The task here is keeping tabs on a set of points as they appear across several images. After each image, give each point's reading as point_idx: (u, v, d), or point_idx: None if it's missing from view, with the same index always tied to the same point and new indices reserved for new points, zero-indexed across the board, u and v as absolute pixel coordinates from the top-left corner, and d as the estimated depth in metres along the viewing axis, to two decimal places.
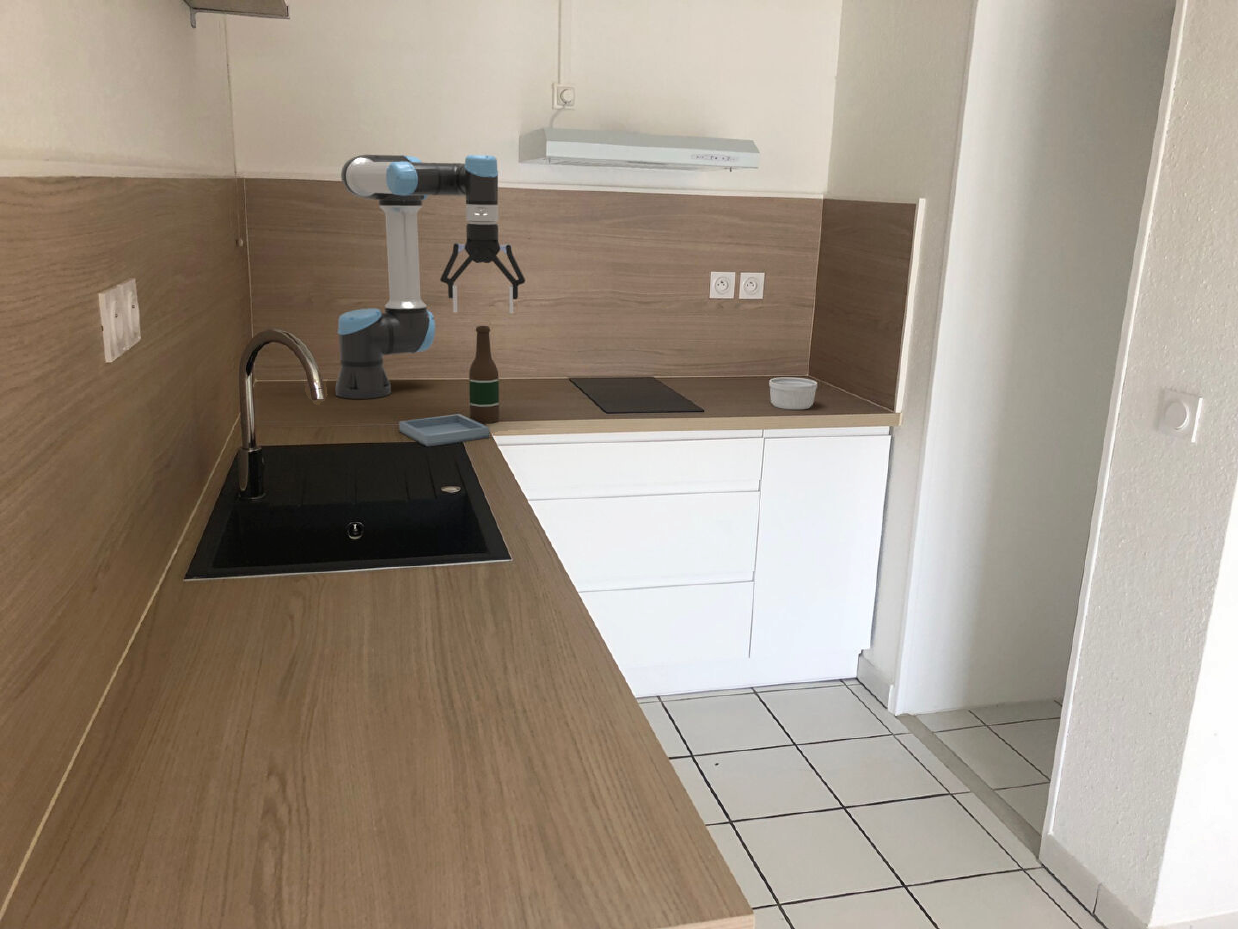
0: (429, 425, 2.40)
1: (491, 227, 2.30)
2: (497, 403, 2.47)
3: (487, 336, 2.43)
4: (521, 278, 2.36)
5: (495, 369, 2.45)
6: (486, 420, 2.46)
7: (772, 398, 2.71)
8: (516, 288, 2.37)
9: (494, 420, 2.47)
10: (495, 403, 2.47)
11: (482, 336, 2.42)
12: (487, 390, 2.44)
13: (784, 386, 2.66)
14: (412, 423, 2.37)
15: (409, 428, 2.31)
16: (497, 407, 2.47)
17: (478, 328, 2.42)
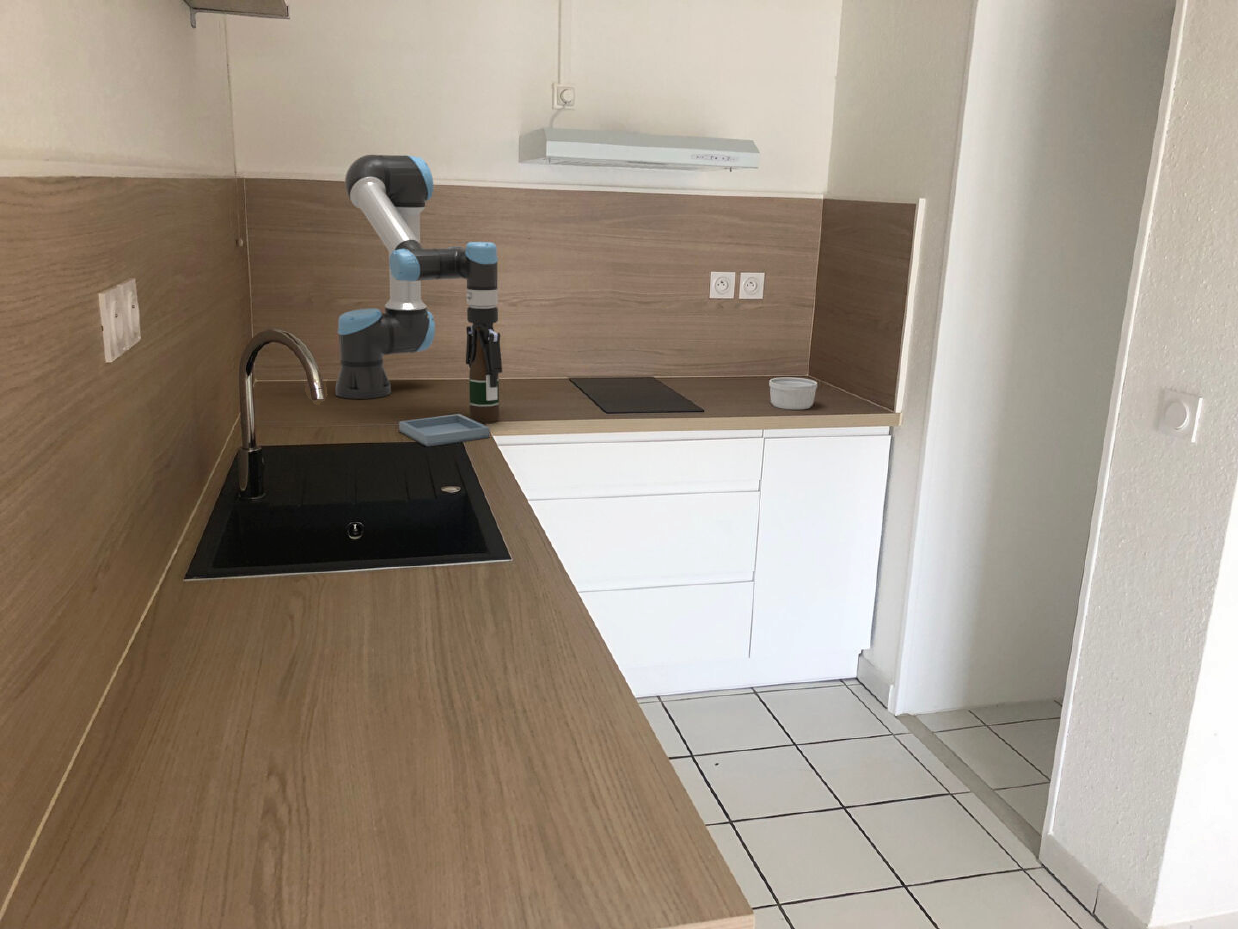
0: (429, 425, 2.40)
1: (476, 311, 2.38)
2: (497, 403, 2.47)
3: None
4: (492, 368, 2.39)
5: None
6: (486, 420, 2.46)
7: (772, 398, 2.71)
8: (491, 377, 2.41)
9: (494, 420, 2.47)
10: (496, 403, 2.47)
11: None
12: None
13: (784, 386, 2.66)
14: (412, 423, 2.37)
15: (409, 428, 2.31)
16: (497, 407, 2.47)
17: (478, 328, 2.42)
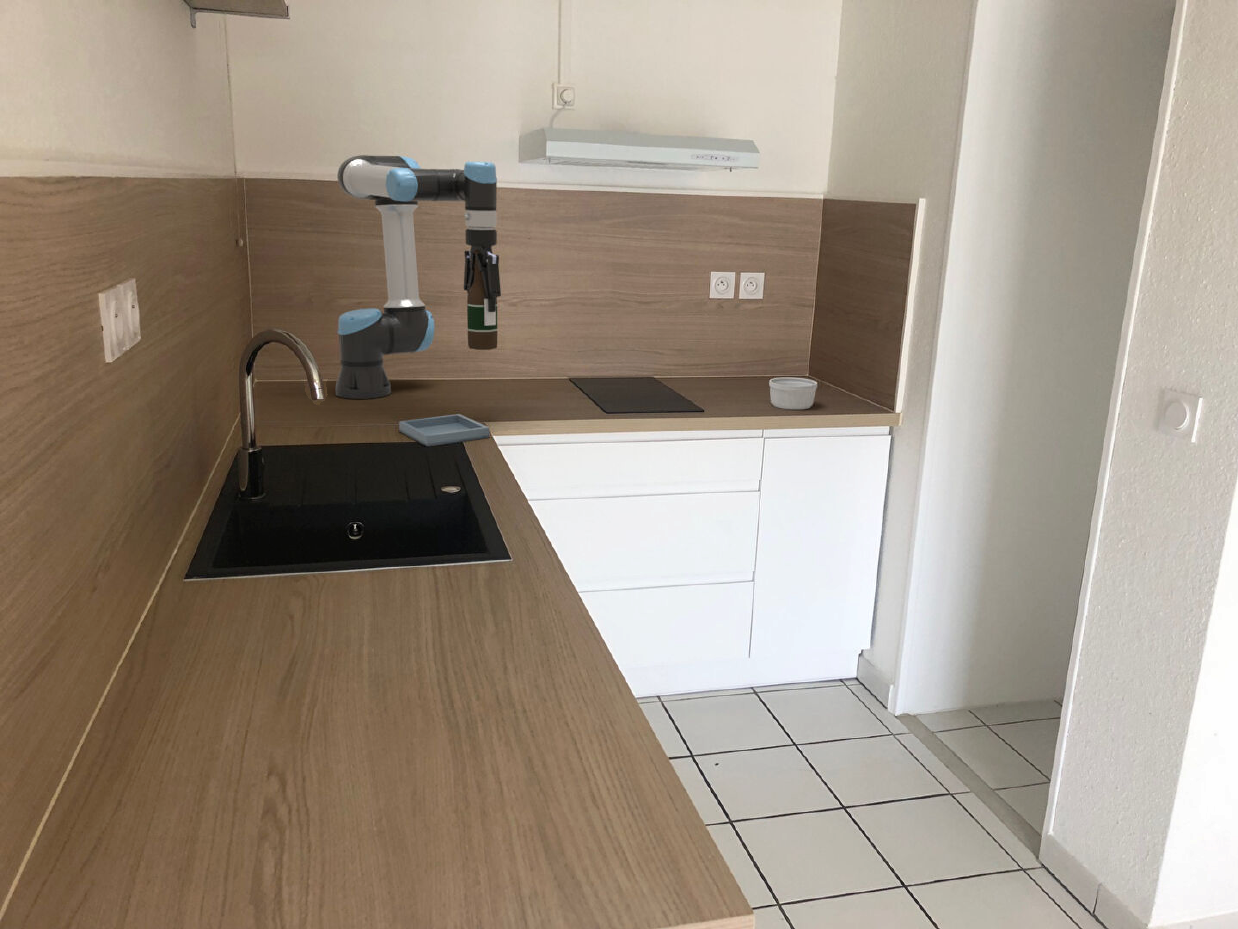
0: (429, 425, 2.40)
1: (474, 232, 2.33)
2: (495, 329, 2.42)
3: None
4: (490, 291, 2.34)
5: None
6: (484, 346, 2.41)
7: (772, 398, 2.71)
8: (489, 301, 2.36)
9: (492, 347, 2.42)
10: (494, 329, 2.42)
11: None
12: None
13: (784, 386, 2.66)
14: (412, 423, 2.37)
15: (409, 428, 2.31)
16: (495, 333, 2.42)
17: (477, 251, 2.37)
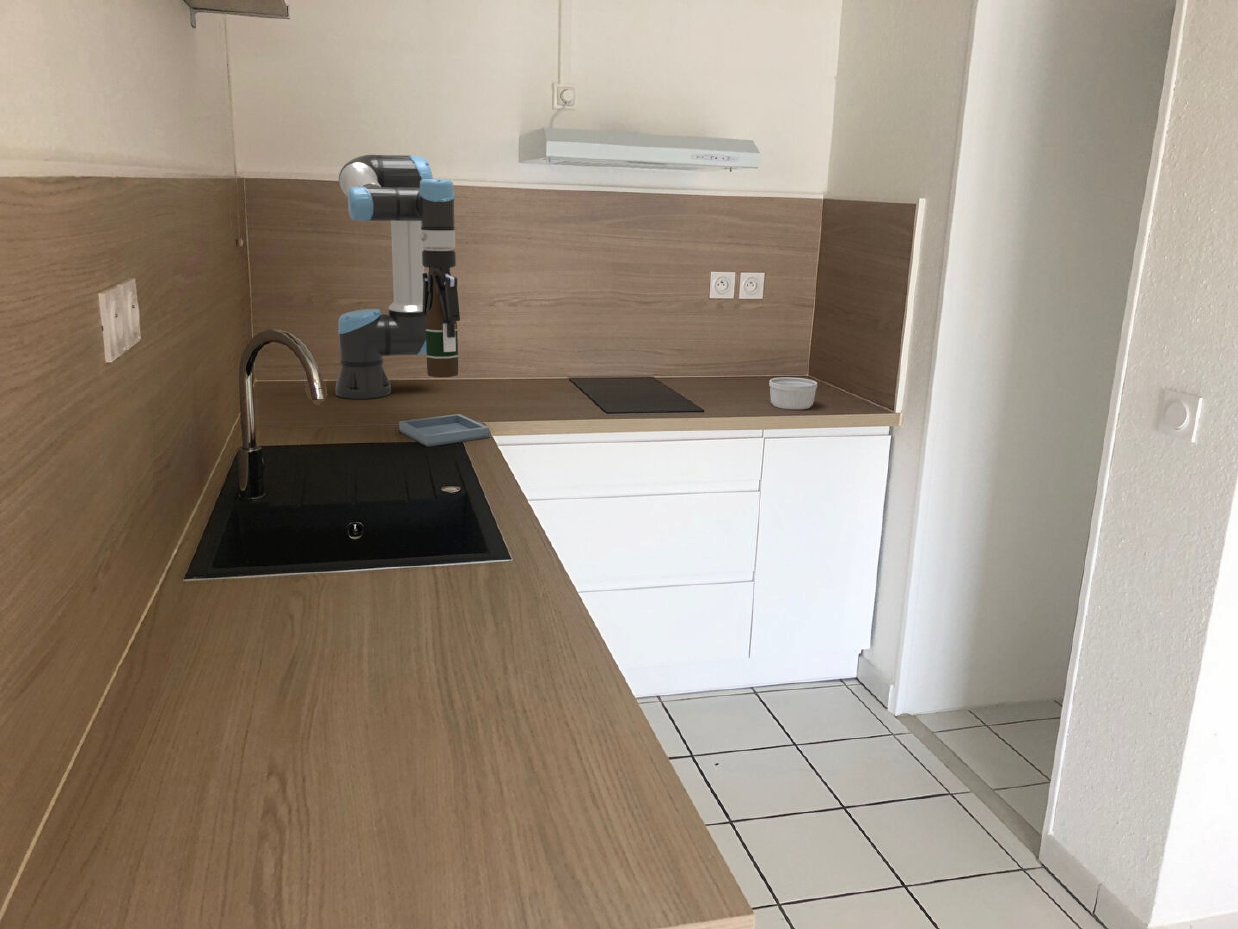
0: (429, 425, 2.40)
1: (431, 254, 2.19)
2: (456, 355, 2.28)
3: None
4: (449, 315, 2.20)
5: None
6: (444, 373, 2.27)
7: (772, 398, 2.71)
8: (448, 326, 2.22)
9: (453, 374, 2.28)
10: (454, 356, 2.27)
11: None
12: None
13: (784, 386, 2.66)
14: (412, 423, 2.37)
15: (409, 428, 2.31)
16: (456, 360, 2.28)
17: (434, 273, 2.23)
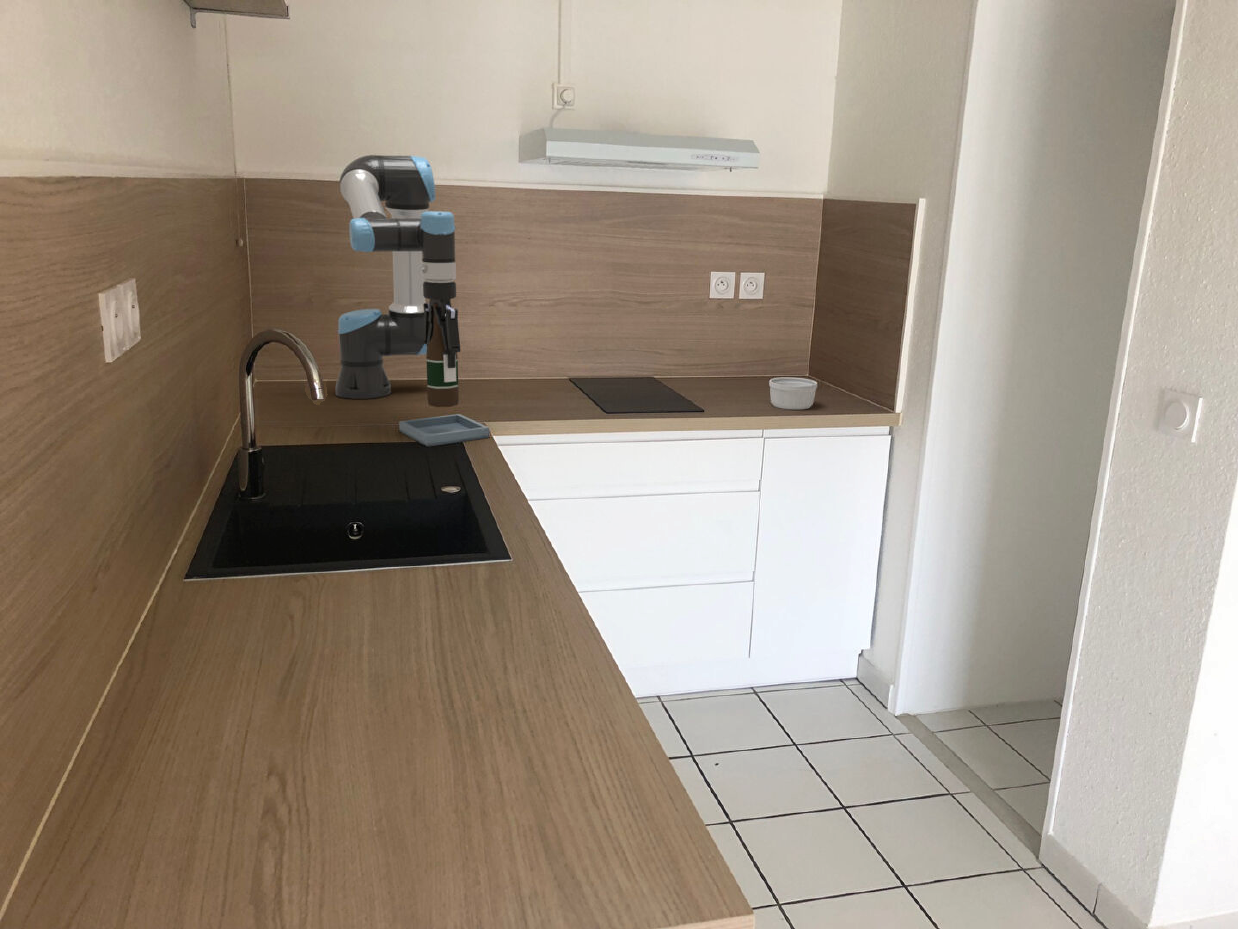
0: (429, 425, 2.40)
1: (432, 285, 2.21)
2: (456, 385, 2.30)
3: None
4: (449, 347, 2.22)
5: None
6: (444, 403, 2.29)
7: (772, 398, 2.71)
8: (449, 357, 2.25)
9: (453, 403, 2.31)
10: (455, 385, 2.30)
11: None
12: None
13: (784, 386, 2.66)
14: (412, 423, 2.37)
15: (409, 428, 2.31)
16: (456, 389, 2.30)
17: (435, 304, 2.25)
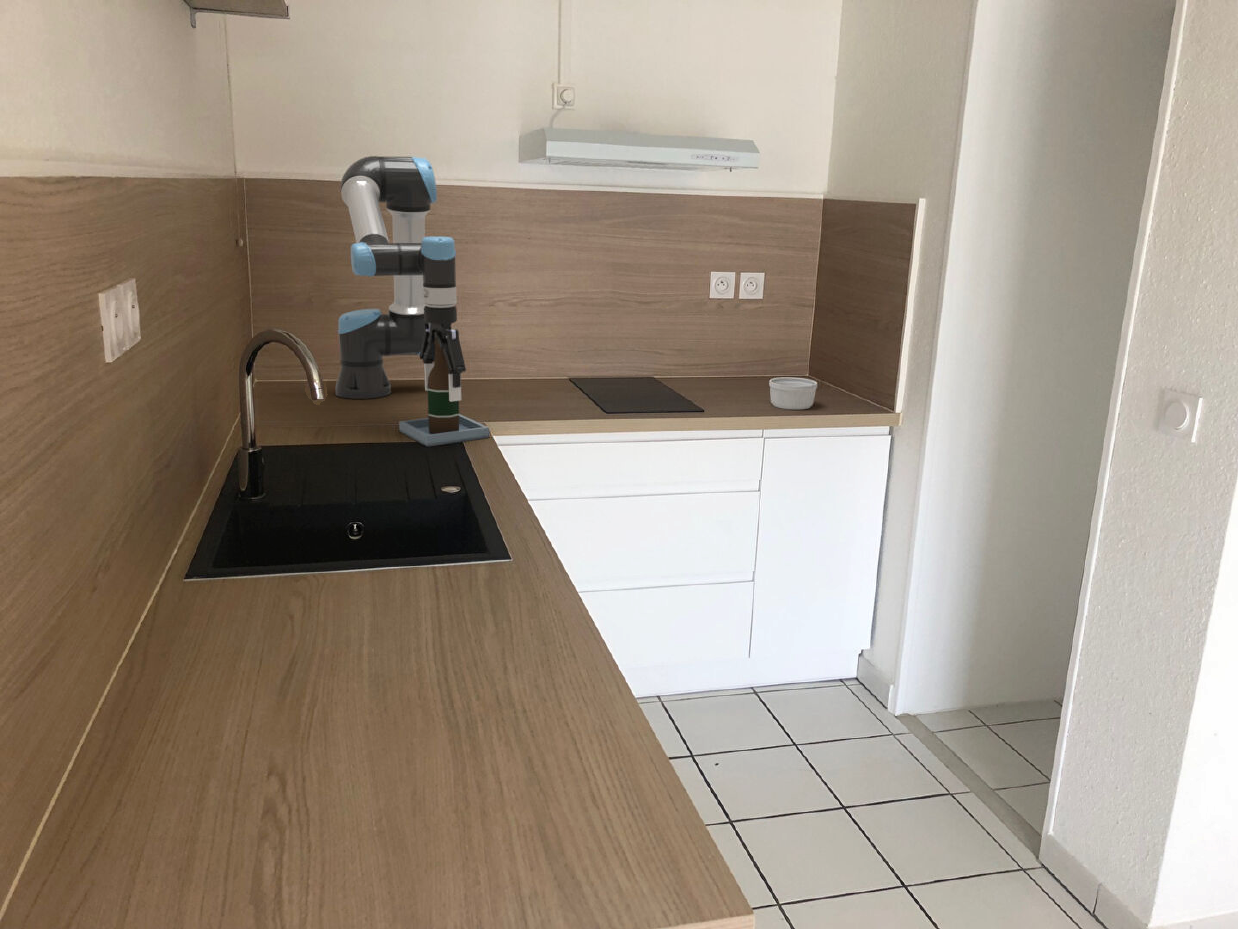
0: None
1: (433, 310, 2.23)
2: (457, 414, 2.32)
3: None
4: (454, 366, 2.22)
5: None
6: None
7: (772, 398, 2.71)
8: (454, 376, 2.24)
9: None
10: (455, 414, 2.32)
11: None
12: (446, 400, 2.29)
13: (784, 386, 2.66)
14: (412, 423, 2.37)
15: (409, 428, 2.31)
16: (457, 418, 2.33)
17: None
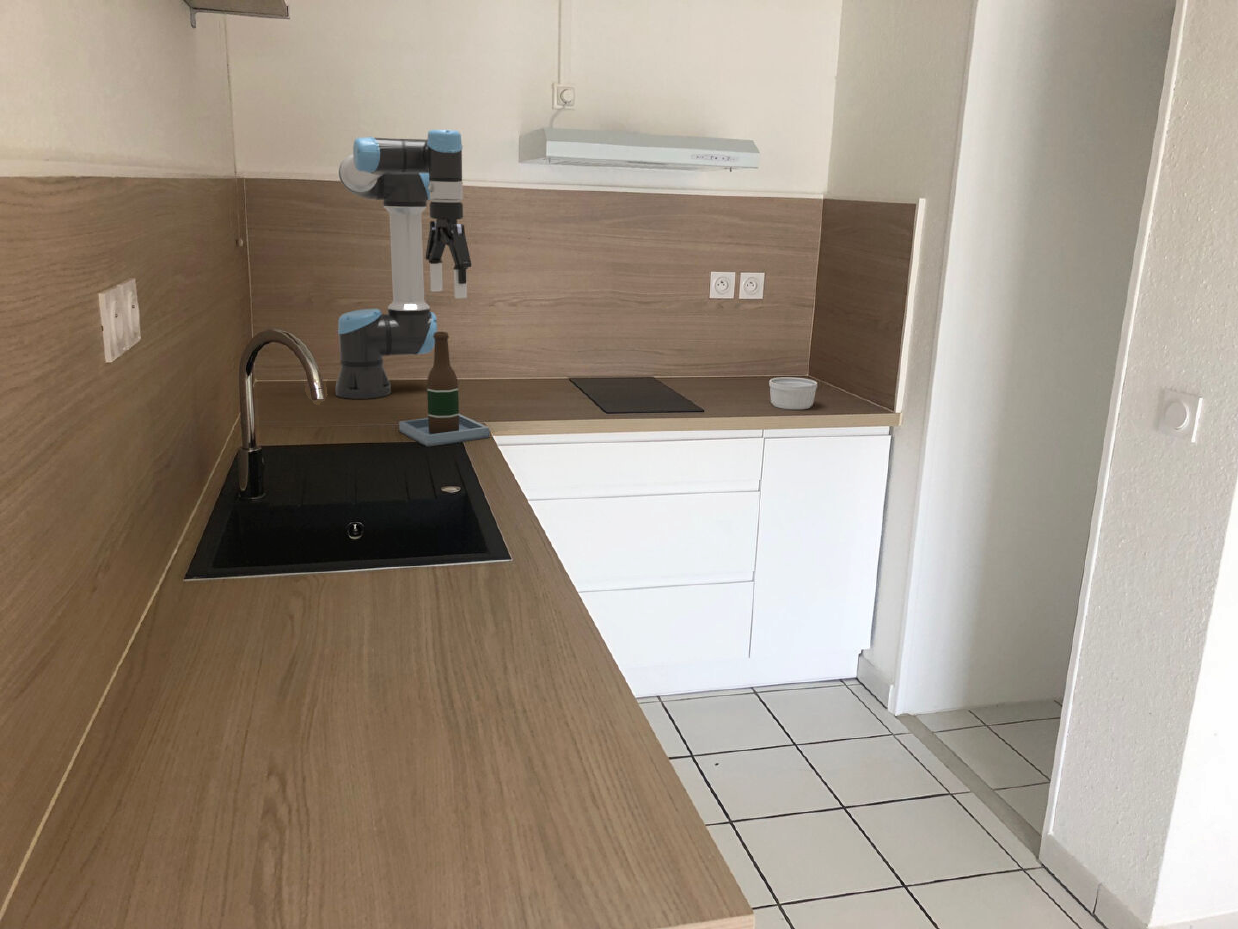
0: None
1: (438, 205, 2.20)
2: (457, 414, 2.32)
3: (446, 342, 2.28)
4: (460, 261, 2.19)
5: (454, 378, 2.30)
6: None
7: (772, 398, 2.71)
8: (459, 272, 2.21)
9: None
10: (455, 414, 2.32)
11: (440, 343, 2.27)
12: (446, 400, 2.29)
13: (784, 386, 2.66)
14: (412, 423, 2.37)
15: (409, 428, 2.31)
16: (457, 418, 2.33)
17: (436, 334, 2.27)
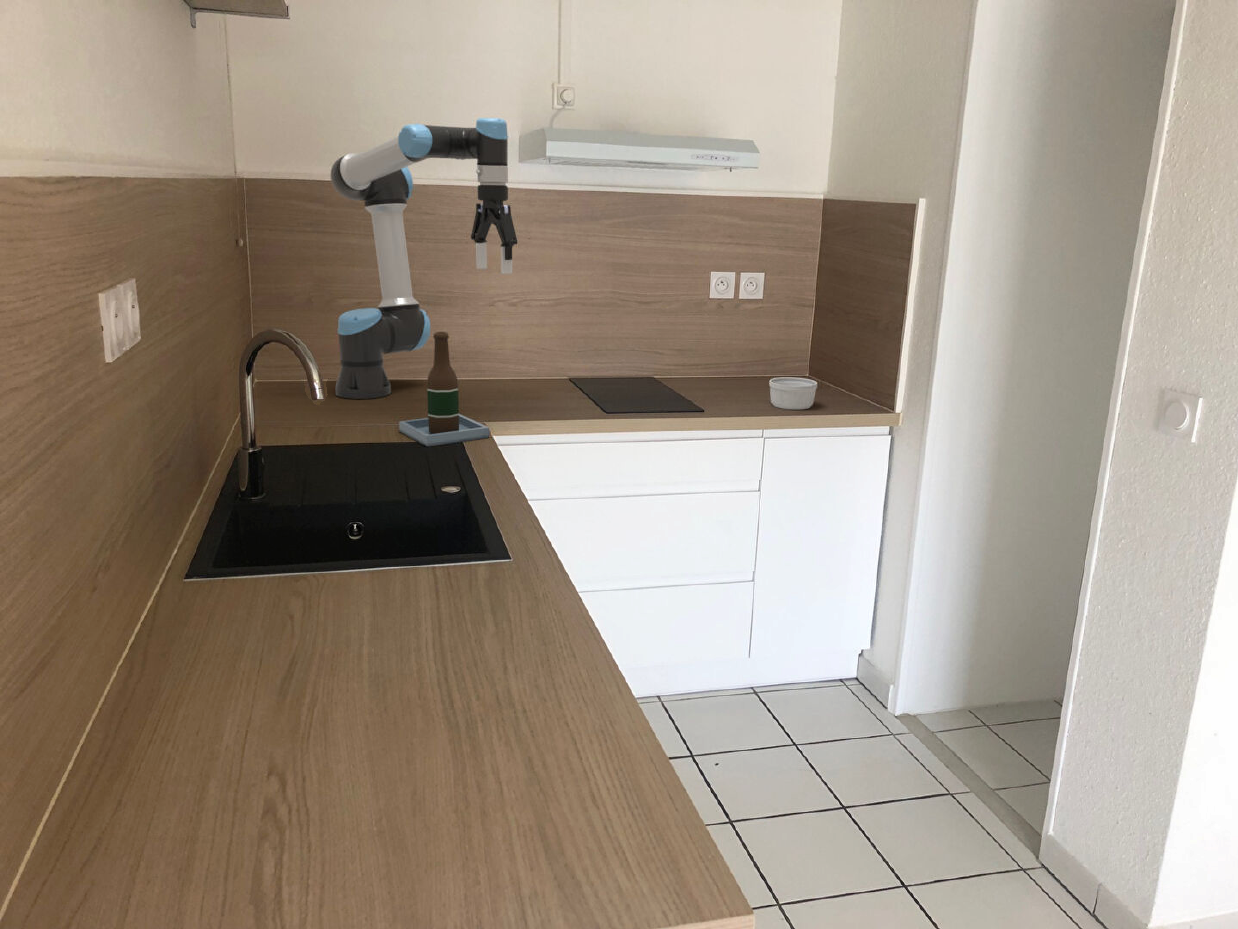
0: None
1: (486, 187, 2.39)
2: (457, 414, 2.32)
3: (446, 342, 2.28)
4: (507, 239, 2.38)
5: (454, 378, 2.30)
6: None
7: (772, 398, 2.71)
8: (506, 249, 2.40)
9: None
10: (455, 414, 2.32)
11: (440, 343, 2.27)
12: (446, 400, 2.29)
13: (784, 386, 2.66)
14: (412, 423, 2.37)
15: (409, 428, 2.31)
16: (457, 418, 2.33)
17: (436, 334, 2.27)
